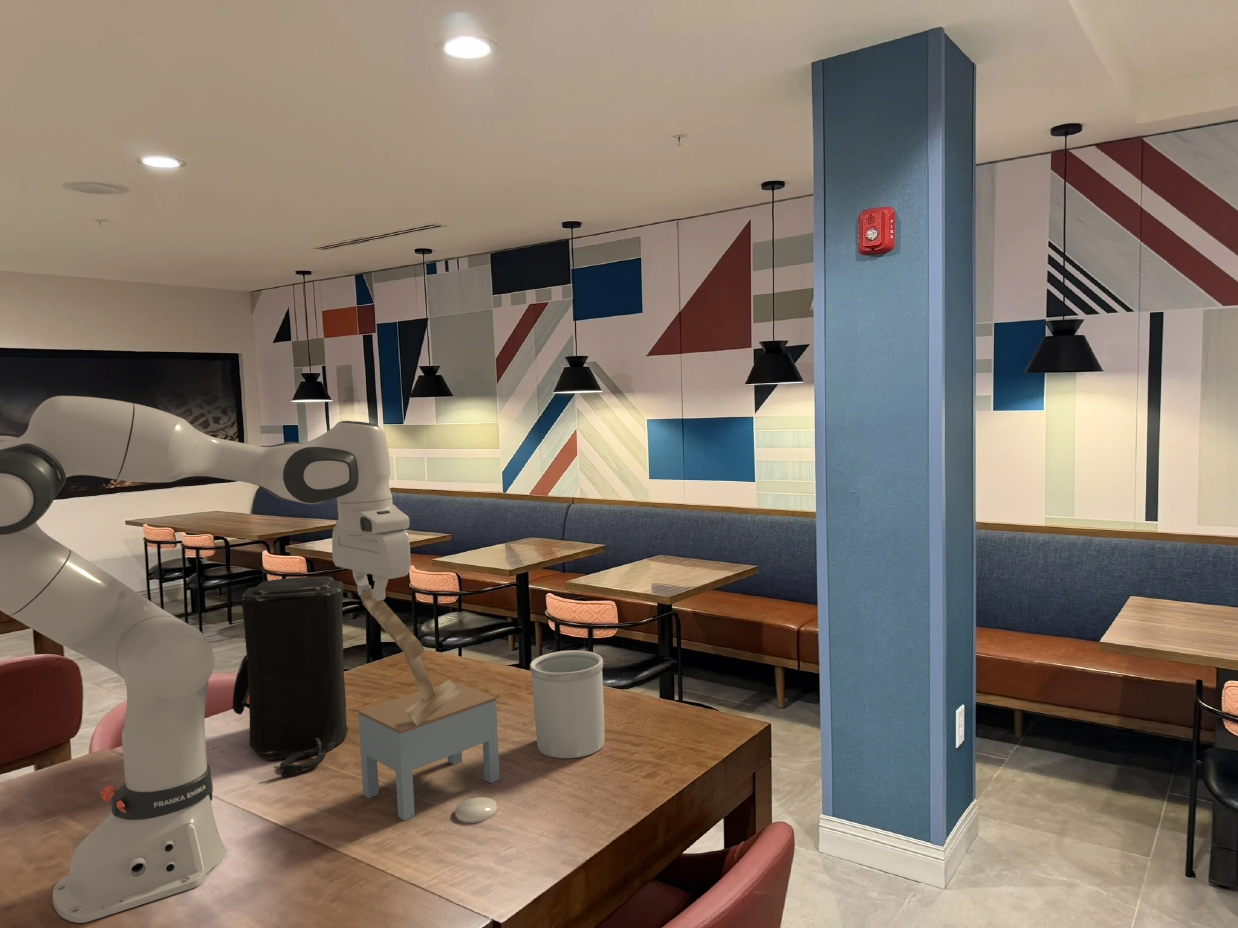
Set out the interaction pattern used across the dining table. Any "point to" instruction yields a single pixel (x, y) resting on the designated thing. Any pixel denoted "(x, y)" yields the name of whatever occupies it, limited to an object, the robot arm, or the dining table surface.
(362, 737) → the wooden top stool
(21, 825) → the dining table surface
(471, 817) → the smooth oval stone
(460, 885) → the dining table surface
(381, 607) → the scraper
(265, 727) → the coffee maker
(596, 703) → the utensil holder
